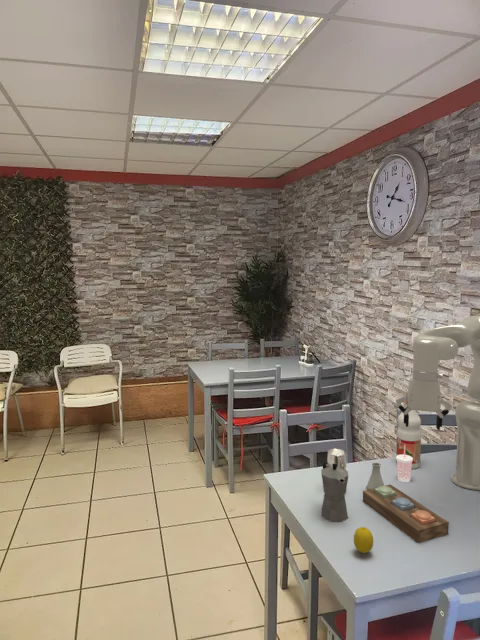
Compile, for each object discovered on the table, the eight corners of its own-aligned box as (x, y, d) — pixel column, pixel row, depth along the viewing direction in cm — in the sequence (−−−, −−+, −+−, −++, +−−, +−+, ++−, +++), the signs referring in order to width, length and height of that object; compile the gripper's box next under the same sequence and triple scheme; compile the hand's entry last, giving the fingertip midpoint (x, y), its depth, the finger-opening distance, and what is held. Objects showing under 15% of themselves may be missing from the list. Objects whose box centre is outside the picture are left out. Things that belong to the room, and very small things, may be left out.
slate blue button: (403, 504, 155) (403, 495, 155) (414, 511, 150) (414, 502, 150) (391, 507, 153) (391, 498, 153) (402, 514, 149) (402, 505, 148)
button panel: (389, 494, 167) (390, 484, 166) (448, 534, 142) (448, 521, 141) (362, 501, 162) (362, 490, 162) (418, 543, 137) (418, 530, 137)
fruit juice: (424, 468, 188) (426, 402, 185) (403, 470, 186) (405, 403, 183) (412, 459, 197) (414, 396, 194) (392, 461, 195) (393, 397, 192)
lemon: (351, 548, 136) (351, 522, 135) (369, 546, 136) (369, 521, 135) (357, 559, 130) (357, 533, 129) (376, 558, 131) (376, 532, 130)
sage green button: (385, 492, 163) (386, 484, 163) (395, 499, 159) (395, 490, 158) (374, 495, 161) (374, 487, 161) (383, 501, 157) (383, 493, 156)
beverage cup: (413, 478, 179) (414, 444, 178) (410, 484, 174) (411, 449, 173) (397, 474, 183) (398, 441, 181) (393, 480, 177) (394, 446, 176)
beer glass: (325, 493, 169) (325, 454, 167) (329, 484, 175) (329, 447, 173) (344, 496, 166) (344, 457, 164) (347, 487, 172) (347, 449, 171)
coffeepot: (356, 523, 149) (357, 470, 146) (329, 527, 146) (329, 474, 144) (336, 500, 163) (336, 452, 161) (311, 503, 161) (311, 455, 159)
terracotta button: (423, 517, 147) (423, 508, 146) (435, 525, 142) (435, 516, 142) (410, 521, 145) (411, 511, 144) (422, 529, 140) (422, 519, 140)
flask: (386, 494, 167) (387, 468, 166) (366, 493, 168) (366, 467, 167) (384, 485, 174) (385, 460, 173) (365, 484, 175) (365, 459, 174)
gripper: (451, 376, 150) (448, 426, 152) (396, 372, 155) (394, 421, 157) (455, 380, 143) (452, 433, 145) (397, 376, 148) (395, 428, 150)
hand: (422, 427), depth 151 cm, fingers open, 9 cm apart
